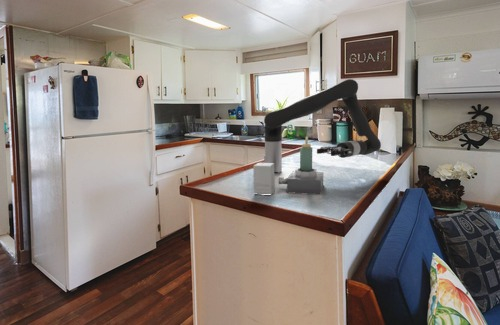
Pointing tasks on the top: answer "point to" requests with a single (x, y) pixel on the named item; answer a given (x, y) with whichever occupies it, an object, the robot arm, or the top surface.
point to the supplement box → (264, 178)
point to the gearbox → (304, 182)
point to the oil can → (306, 157)
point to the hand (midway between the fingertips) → (324, 152)
